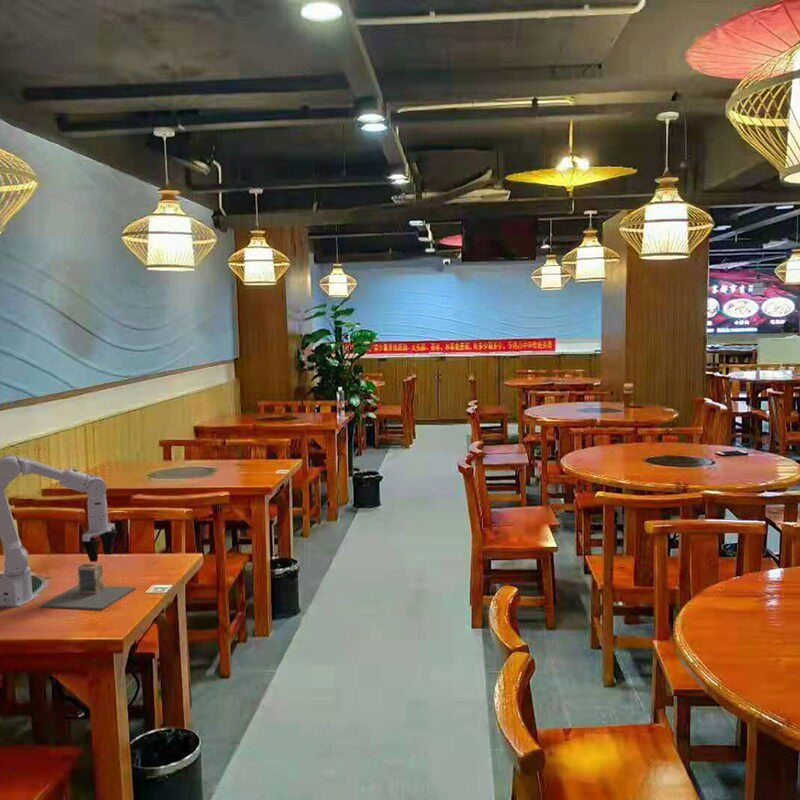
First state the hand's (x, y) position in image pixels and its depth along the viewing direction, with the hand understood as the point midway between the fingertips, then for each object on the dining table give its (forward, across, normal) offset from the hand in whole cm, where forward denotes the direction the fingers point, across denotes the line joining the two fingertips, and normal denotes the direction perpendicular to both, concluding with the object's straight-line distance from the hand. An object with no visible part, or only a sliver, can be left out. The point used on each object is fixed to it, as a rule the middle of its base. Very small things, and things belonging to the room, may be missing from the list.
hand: (100, 557), depth 238 cm
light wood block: (+9, -6, 0) cm, 11 cm away
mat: (+10, -10, -2) cm, 14 cm away
